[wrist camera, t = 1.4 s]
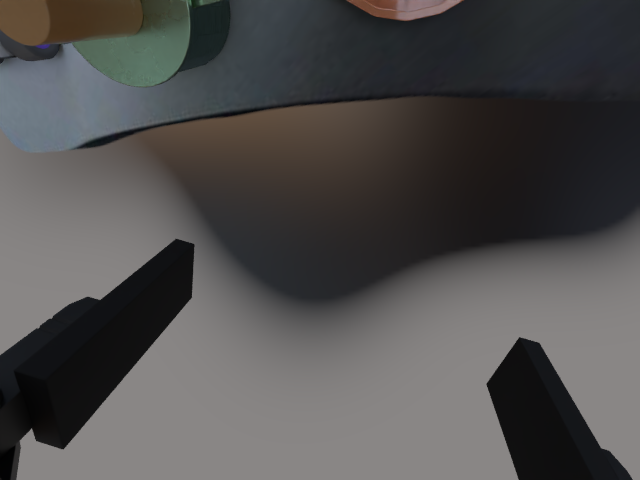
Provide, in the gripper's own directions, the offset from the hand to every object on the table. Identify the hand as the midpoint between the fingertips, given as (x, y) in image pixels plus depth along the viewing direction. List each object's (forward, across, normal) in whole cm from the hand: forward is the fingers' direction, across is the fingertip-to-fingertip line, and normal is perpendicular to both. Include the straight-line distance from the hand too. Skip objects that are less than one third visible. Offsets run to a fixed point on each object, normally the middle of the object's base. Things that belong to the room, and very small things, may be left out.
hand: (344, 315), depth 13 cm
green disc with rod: (+17, -21, +9) cm, 29 cm away
